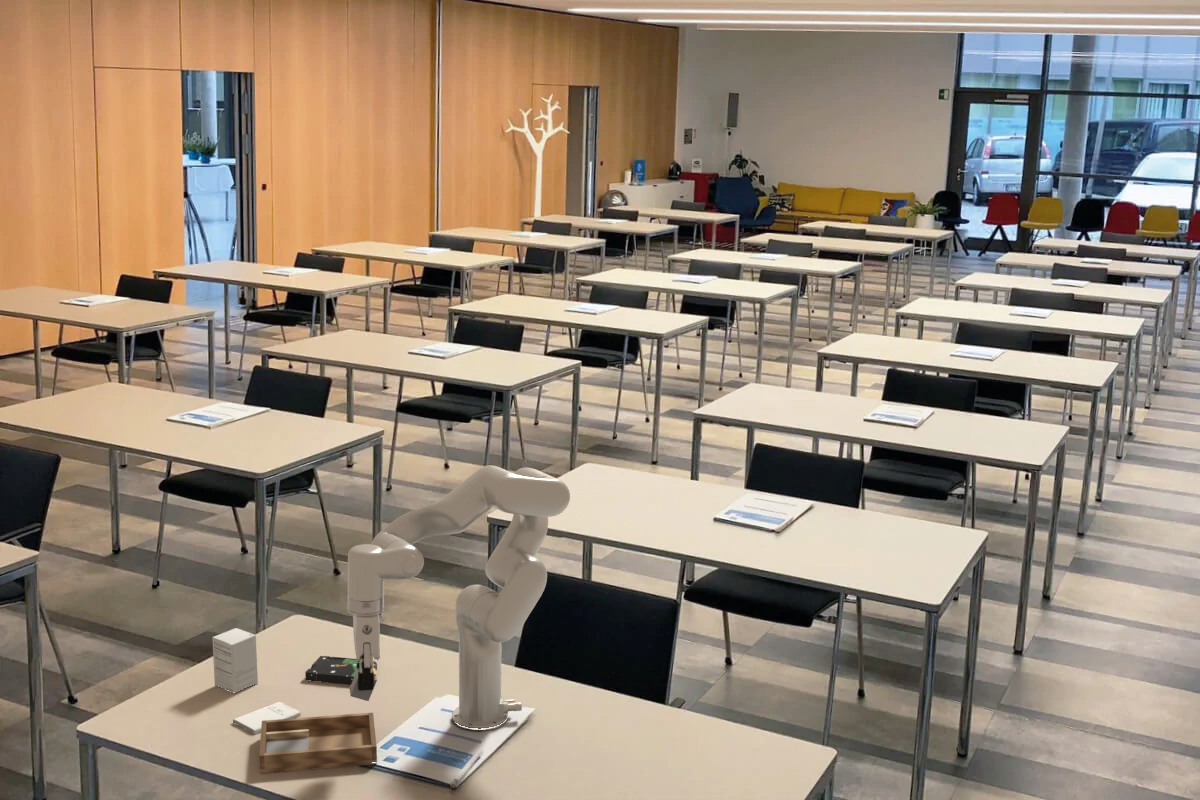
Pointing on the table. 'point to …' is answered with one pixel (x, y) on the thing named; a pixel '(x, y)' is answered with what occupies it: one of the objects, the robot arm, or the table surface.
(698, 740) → the table surface
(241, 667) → the supplement box
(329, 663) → the disk drive
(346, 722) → the crate
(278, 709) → the external hard drive
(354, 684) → the block
